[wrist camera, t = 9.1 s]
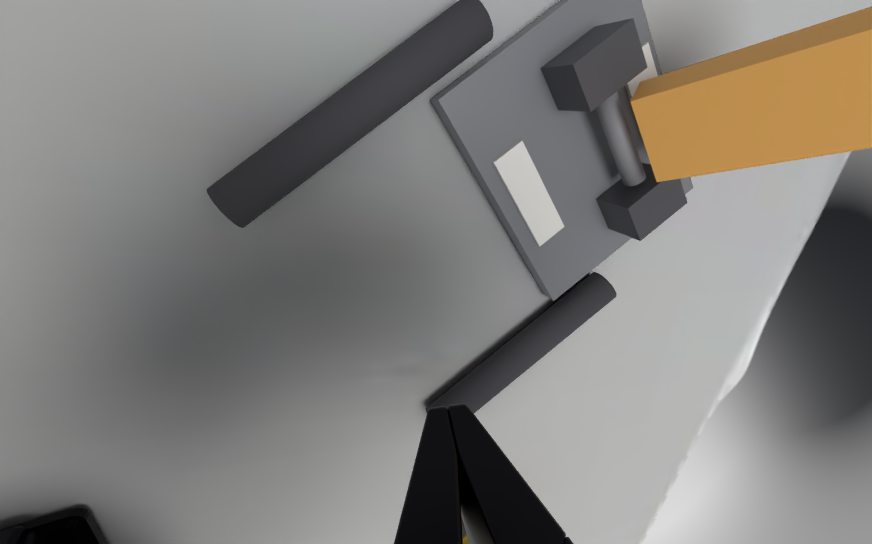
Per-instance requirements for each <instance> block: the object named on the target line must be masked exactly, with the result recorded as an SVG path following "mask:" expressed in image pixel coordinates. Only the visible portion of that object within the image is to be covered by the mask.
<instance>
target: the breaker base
mask: <svg viewBox="0 0 872 544" xmlns="http://www.w3.org/2000/svg"><path fill="white" fill-rule="evenodd" d="M659 75H662V73H661V70H660V66H659V63H658V59H657V55H656V52H655V48H654V44H653V41H652V37H651V34H650V30H649V26H648V23H647V19H646V16H645V12H644V8H643V5H642V1H641V0H561V1H559V2H558V3H557V4H555V5H554V6H553V7H551V8H550V9H549V10H547V11H546V12H545V13H543V14H542V15H541V16H540V17H538V18H537V19H536V20H534V21H533V22H532V23H530V24H529V25H528V26H526V27H525V28H524V29H522V30H521V31H520V32H518V33H517V34H516V35H515V36H513V37H512V38H511V39H509V40H508V41H507V42H505V43H504V44H503V45H501V46H500V47H499V48H497V49H496V50H495V51H493V52H492V53H491V54H490V55H488V56H487V57H486V58H484V59H483V60H482V61H480V62H479V63H478V64H476V65H475V66H474V67H472V68H471V69H470V70H468V71H467V72H466V73H465V74H463V75H462V76H461V77H459V78H458V79H457V80H455V81H454V82H453V83H451V84H450V85H449V86H447V87H446V88H445V89H443V90H442V91H441V92H440V93H438V94H437V95H436V96H434V97H433V98H432V99H430V101H431V103H432V104H433V106H434V108H435V109H436V111H437V113H438V115H439V116H440V118H441V120H442V121H443V123H444V125H445V126H446V128H447V130H448V132H449V133H450V135H451V137H452V138H453V140H454V142H455V144H456V145H457V147H458V149H459V150H460V152H461V154H462V156H463V157H464V159H465V161H466V162H467V164H468V166H469V168H470V169H471V171H472V173H473V174H474V176H475V178H476V180H477V181H478V183H479V185H480V186H481V188H482V190H483V192H484V193H485V195H486V197H487V198H488V200H489V202H490V204H491V205H492V207H493V209H494V210H495V212H496V214H497V216H498V217H499V219H500V221H501V222H502V224H503V226H504V228H505V229H506V231H507V233H508V234H509V236H510V238H511V240H512V241H513V243H514V245H515V246H516V248H517V250H518V252H519V253H520V255H521V257H522V258H523V260H524V262H525V264H526V265H527V267H528V269H529V270H530V272H531V274H532V276H533V277H534V279H535V281H536V282H537V284H538V286H539V288H540V289H541V291H542V293H543V294H544V295H546V296H547V297H548V298H550V299H551V300H553V301H554V300H556V299H557V298H558V297H559V296H561V295H562V294H563V293H564V292H565V291H567V290H568V289H569V288H570V287H572V286H573V285H574V284H575V283H577V282H578V281H579V280H580V279H581V278H583V277H584V276H585V275H586V274H588V273H589V272H590V271H591V270H593V269H594V268H595V267H596V266H597V265H599V264H600V263H601V262H602V261H604V260H605V259H606V258H607V257H609V256H610V255H611V254H612V253H613V252H615V251H616V250H617V249H618V248H620V247H621V246H622V245H623V244H625V243H626V242H627V241H628V240H629V239H631V238H634V239H637V240H639V241H641V240H642V239H643V238H645V237H646V236H647V235H648V234H649V233H651V232H652V231H653V230H654V229H656V228H657V227H658V226H659V225H660V224H662V223H663V222H664V221H665V220H667V219H668V218H669V217H670V216H672V215H673V214H674V213H675V212H676V211H678V210H679V209H680V208H681V207H683V206H684V205H685V204H686V203H687V200H686V197H685V194H686V193H687V192H689V191H690V190H691V189H692V188H693V185H692V182H691V178H690V177H686V178H680V179H674V180H668V181H662V182H656V179H655V176H654V172H653V169H652V166H651V163H650V160H649V157H648V154H647V151H646V148H645V145H644V142H643V139H642V136H641V133H640V130H639V127H638V124H637V120H636V117H635V114H634V111H633V108H632V105H631V102H630V101H631V99H632V97H633V95H634V93H635V91H636V89H637V87H638V85H639V83H640V82H641V81H644V80H647V79H650V78H653V77H656V76H659ZM615 92H618V95H619V98H620V101H621V104H622V107H623V110H624V113H625V116H626V119H627V122H628V125H629V128H630V131H631V134H632V137H633V140H634V142H635V145H636V148H637V151H638V154H639V157H640V160H641V163H642V166H643V169H644V172H645V175H646V178H645V180H644V181H643V182H641V183H640V184H638V185H635V186H625V185H624V184H623V181H622V178H621V176H620V173H619V170H618V168H617V165H616V162H615V160H614V157H613V154H612V152H611V149H610V146H609V144H608V141H607V138H606V136H605V133H604V130H603V128H602V125H601V122H600V120H599V117H598V114H597V112H596V109H595V108H596V107H598V106H599V105H600V104H601V103H603V102H604V101H605V100H607V99H608V98H609V97H610V96H612V95H613V94H614V93H615Z"/></svg>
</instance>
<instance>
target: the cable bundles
mask: <svg viewBox="0 0 872 544" xmlns="http://www.w3.org/2000/svg"><path fill="white" fill-rule="evenodd" d="M492 37H493V26H492V22H491V19H490V17H489V14H488V12H487V10H486V9H485V7H484V6H483V4H482V3H481V2H480V1H479V0H459V1H458V2H457V3H455V4H454V5H453V6H451V7H450V8H449V9H447V10H446V11H445V12H443V13H442V14H441V15H439V16H438V17H437V18H435V19H434V20H433V21H431V22H430V23H429V24H427V25H426V26H425V27H423V28H422V29H421V30H419V31H418V32H417V33H415V34H414V35H413V36H411V37H410V38H409V39H407V40H406V41H405V42H403V43H402V44H401V45H399V46H398V47H397V48H395V49H394V50H392V51H391V52H390V53H388V54H387V55H386V56H384V57H383V58H382V59H380V60H379V61H378V62H376V63H375V64H374V65H372V66H371V67H370V68H368V69H367V70H366V71H364V72H363V73H362V74H360V75H359V76H358V77H356V78H355V79H354V80H352V81H351V82H350V83H348V84H347V85H346V86H344V87H343V88H342V89H340V90H339V91H338V92H336V93H335V94H334V95H332V96H331V97H330V98H328V99H327V100H326V101H324V102H323V103H322V104H320V105H319V106H318V107H316V108H315V109H314V110H312V111H311V112H309V113H308V114H307V115H305V116H304V117H303V118H301V119H300V120H299V121H297V122H296V123H295V124H293V125H292V126H291V127H289V128H288V129H287V130H285V131H284V132H283V133H281V134H280V135H279V136H277V137H276V138H275V139H273V140H272V141H271V142H269V143H268V144H267V145H265V146H264V147H263V148H261V149H260V150H259V151H257V152H256V153H255V154H253V155H252V156H251V157H249V158H248V159H247V160H245V161H244V162H243V163H241V164H240V165H239V166H237V167H236V168H235V169H233V170H232V171H230V172H229V173H228V174H226V175H225V176H224V177H222V178H221V179H220V180H218V181H217V182H216V183H214V184H213V185H212V186H210V187H209V188H208V189H207V193H208V195H209V196H210V198H211V199H212V201H213V202H214V204H215V205H216V206H217V207H218V208H219V209H220V211H221V212H222V213H223V214H224V215H225V216H226V217H227V218H229V219H230V220H231V221H232V222H233V223H235V224H236V225H237V226H239V227H241V228H243V227H245V226H246V225H248V224H249V223H250V222H251V221H253V220H254V219H255V218H257V217H258V216H259V215H261V214H262V213H263V212H265V211H266V210H267V209H269V208H270V207H271V206H273V205H274V204H275V203H277V202H278V201H279V200H281V199H282V198H283V197H284V196H286V195H287V194H288V193H290V192H291V191H292V190H294V189H295V188H296V187H298V186H299V185H300V184H302V183H303V182H304V181H306V180H307V179H308V178H310V177H311V176H312V175H313V174H315V173H316V172H317V171H319V170H320V169H321V168H323V167H324V166H325V165H327V164H328V163H329V162H331V161H332V160H333V159H335V158H336V157H337V156H339V155H340V154H341V153H343V152H344V151H345V150H346V149H348V148H349V147H350V146H352V145H353V144H354V143H356V142H357V141H358V140H360V139H361V138H362V137H364V136H365V135H366V134H368V133H369V132H370V131H372V130H373V129H374V128H376V127H377V126H378V125H379V124H381V123H382V122H383V121H385V120H386V119H387V118H389V117H390V116H391V115H393V114H394V113H395V112H397V111H398V110H399V109H401V108H402V107H403V106H405V105H406V104H407V103H408V102H410V101H411V100H412V99H414V98H415V97H416V96H418V95H419V94H420V93H422V92H423V91H424V90H426V89H427V88H428V87H430V86H431V85H432V84H434V83H435V82H436V81H438V80H439V79H440V78H441V77H443V76H444V75H445V74H447V73H448V72H449V71H451V70H452V69H453V68H455V67H456V66H457V65H459V64H460V63H461V62H463V61H464V60H465V59H467V58H468V57H469V56H471V55H472V54H473V53H474V52H476V51H477V50H478V49H480V48H481V47H482V46H484V45H485V44H486V43H488V42H489V41H490V40H491V39H492ZM615 297H616V292H615V290H614V288H613V286H612V285H611V284H610V283H609V282H608V281H607V280H606V279H605V278H604V277H603V276H602V275H600V274H598V273H596V272H593V273H592V274H590V275H589V276H588V277H587V278H586V279H584V280H583V281H582V282H581V283H579V284H578V285H577V286H576V287H574V288H573V289H572V290H571V291H570V292H568V293H567V294H566V295H565V296H563V297H562V298H561V299H560V300H559V301H557V302H556V303H555V304H554V305H552V306H551V307H550V308H549V309H547V310H546V311H545V312H544V313H543V314H541V315H540V316H539V317H538V318H536V319H535V320H534V321H533V322H531V323H530V324H529V325H528V326H527V327H525V328H524V329H523V330H522V331H520V332H519V333H518V334H517V335H515V336H514V337H513V338H512V339H511V340H509V341H508V342H507V343H506V344H504V345H503V346H502V347H501V348H499V349H498V350H497V351H496V352H495V353H493V354H492V355H491V356H490V357H488V358H487V359H486V360H485V361H483V362H482V363H481V364H480V365H479V366H477V367H476V368H475V369H474V370H472V371H471V372H470V373H469V374H467V375H466V376H465V377H464V378H463V379H461V380H460V381H459V382H458V383H456V384H455V385H454V386H453V387H451V388H450V389H449V390H448V391H447V392H445V393H444V394H443V395H442V396H440V397H439V398H438V399H437V400H435V401H434V402H433V403H432V404H431V405H429V406H428V407H427V408H426V412H428V410H429V409H430V408H431V407H439V406H446V407H447V408H448V406H449V405H454V404H462V403H463V404H466V405H467V406H468V407H469V409H470V410H471V411H472V412H473V414H474V413H475V412H476V411H477V410H479V409H480V408H481V407H482V406H483V405H485V404H486V403H487V402H488V401H490V400H491V399H492V398H493V397H494V396H496V395H497V394H498V393H499V392H500V391H502V390H503V389H504V388H505V387H507V386H508V385H509V384H510V383H511V382H513V381H514V380H515V379H516V378H518V377H519V376H520V375H521V374H522V373H524V372H525V371H526V370H527V369H529V368H530V367H531V366H532V365H533V364H535V363H536V362H537V361H538V360H539V359H541V358H542V357H543V356H544V355H546V354H547V353H548V352H549V351H550V350H552V349H553V348H554V347H555V346H557V345H558V344H559V343H560V342H561V341H563V340H564V339H565V338H566V337H568V336H569V335H570V334H571V333H572V332H574V331H575V330H576V329H577V328H578V327H580V326H581V325H582V324H583V323H585V322H586V321H587V320H588V319H589V318H591V317H592V316H593V315H594V314H596V313H597V312H598V311H599V310H600V309H602V308H603V307H604V306H605V305H607V304H608V303H609V302H610V301H611V300H613V299H614V298H615Z"/></svg>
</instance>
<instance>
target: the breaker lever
mask: <svg viewBox="0 0 872 544" xmlns="http://www.w3.org/2000/svg"><path fill="white" fill-rule="evenodd" d="M630 102H631V105H632V108H633V111H634V114H635V117H636V120H637V124H638V127H639V130H640V133H641V136H642V139H643V142H644V145H645V148H646V151H647V154H648V157H649V160H650V163H651V166H652V169H653V172H654V176H655V179H656V182H662V181H668V180H674V179H680V178H686V177H693V176H699V175H705V174H711V173H718V172H724V171H730V170H736V169H743V168H749V167H755V166H761V165H768V164H774V163H780V162H786V161H793V160H799V159H805V158H811V157H818V156H824V155H830V154H836V153H842V152H849V151H855V150H861V149H867V148H872V7H869V8H866V9H863V10H859V11H856V12H853V13H850V14H847V15H844V16H841V17H838V18H835V19H832V20H829V21H826V22H823V23H819V24H816V25H813V26H810V27H807V28H804V29H801V30H798V31H795V32H792V33H789V34H786V35H783V36H779V37H776V38H773V39H770V40H767V41H764V42H761V43H758V44H755V45H752V46H749V47H746V48H743V49H739V50H736V51H733V52H730V53H727V54H724V55H721V56H718V57H715V58H712V59H709V60H706V61H703V62H699V63H696V64H693V65H690V66H687V67H684V68H681V69H678V70H675V71H672V72H669V73H666V74H663V75H659V76H656V77H653V78H650V79H647V80H644V81H641V82H640V83H639V85H638V87H637V89H636V91H635V93H634V95H633V97H632V99H631V101H630ZM595 109H596V112H597V114H598V117H599V120H600V122H601V125H602V128H603V130H604V133H605V136H606V138H607V141H608V144H609V146H610V149H611V152H612V154H613V157H614V160H615V162H616V165H617V168H618V170H619V173H620V176H621V178H622V181H623V184H624V185H625V186H635V185H638V184H640V183H641V182H643V181H644V180H645V178H646V175H645V172H644V169H643V166H642V163H641V160H640V157H639V154H638V151H637V148H636V145H635V142H634V140H633V137H632V134H631V131H630V128H629V125H628V122H627V119H626V116H625V113H624V110H623V107H622V104H621V101H620V98H619V95H618V92H615V93H614V94H613V95H612V96H610V97H609V98H608V99H607V100H605V101H604V102H603V103H601V104H600V105H599V106H598V107H596V108H595Z"/></svg>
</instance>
